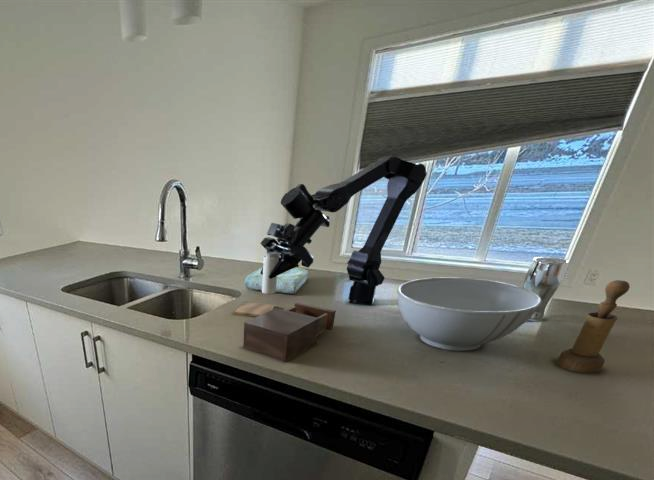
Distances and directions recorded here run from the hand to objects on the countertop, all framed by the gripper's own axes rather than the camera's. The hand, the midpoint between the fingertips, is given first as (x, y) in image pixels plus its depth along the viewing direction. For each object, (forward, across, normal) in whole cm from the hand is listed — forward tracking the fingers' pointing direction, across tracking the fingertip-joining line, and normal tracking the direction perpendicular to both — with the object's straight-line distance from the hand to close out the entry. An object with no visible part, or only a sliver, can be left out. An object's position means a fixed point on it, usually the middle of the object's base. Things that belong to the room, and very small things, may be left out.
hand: (265, 276), depth 114 cm
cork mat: (+8, -8, +11) cm, 16 cm away
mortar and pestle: (-20, +53, +40) cm, 70 cm away
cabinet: (+13, +18, +5) cm, 23 cm away
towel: (-6, -29, +26) cm, 39 cm away
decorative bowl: (-13, +33, +33) cm, 48 cm away
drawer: (+6, +14, +12) cm, 19 cm away
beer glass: (-33, +30, +53) cm, 70 cm away
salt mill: (+2, 0, +4) cm, 5 cm away
